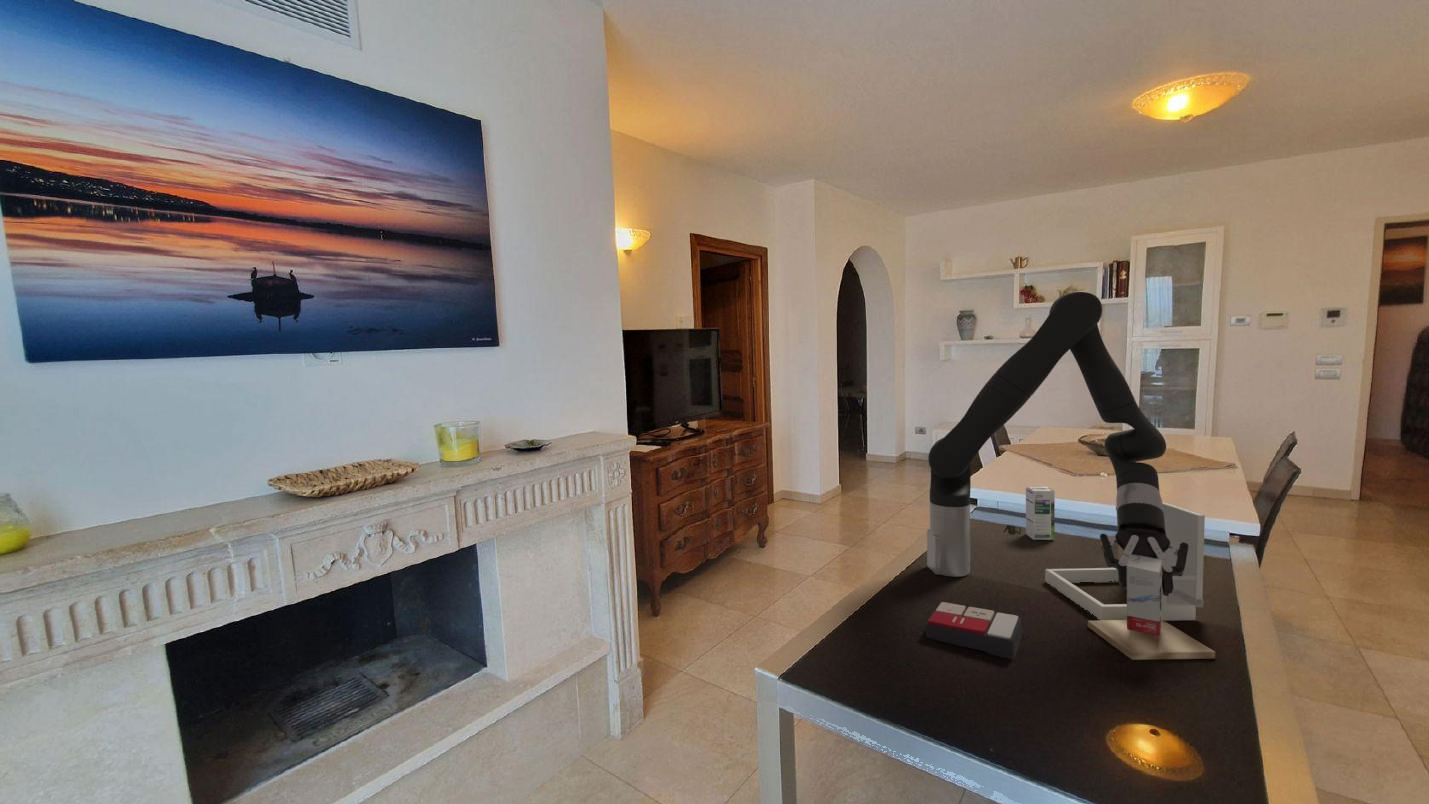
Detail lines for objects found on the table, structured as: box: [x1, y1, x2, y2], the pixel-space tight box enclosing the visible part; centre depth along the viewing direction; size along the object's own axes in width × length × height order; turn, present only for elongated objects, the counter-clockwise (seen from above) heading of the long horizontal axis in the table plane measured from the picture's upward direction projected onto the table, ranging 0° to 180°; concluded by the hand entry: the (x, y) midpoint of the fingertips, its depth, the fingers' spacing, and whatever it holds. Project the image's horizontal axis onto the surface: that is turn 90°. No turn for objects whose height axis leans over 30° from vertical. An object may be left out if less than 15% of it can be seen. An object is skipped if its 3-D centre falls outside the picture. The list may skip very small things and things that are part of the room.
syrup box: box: [1025, 486, 1056, 541], centre depth 160 cm, size 6×6×14 cm
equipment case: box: [1044, 501, 1206, 622], centre depth 118 cm, size 19×20×21 cm
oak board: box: [1087, 619, 1216, 661], centre depth 102 cm, size 14×12×1 cm
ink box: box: [1126, 555, 1162, 636], centre depth 102 cm, size 9×5×12 cm, turn 138°
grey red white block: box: [925, 601, 1023, 661], centre depth 106 cm, size 11×4×15 cm
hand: (1146, 590), depth 102 cm, fingers closed on ink box, 5 cm apart
